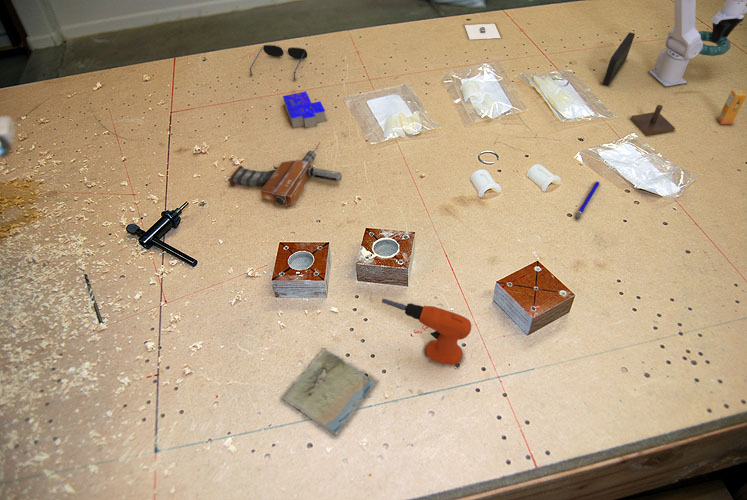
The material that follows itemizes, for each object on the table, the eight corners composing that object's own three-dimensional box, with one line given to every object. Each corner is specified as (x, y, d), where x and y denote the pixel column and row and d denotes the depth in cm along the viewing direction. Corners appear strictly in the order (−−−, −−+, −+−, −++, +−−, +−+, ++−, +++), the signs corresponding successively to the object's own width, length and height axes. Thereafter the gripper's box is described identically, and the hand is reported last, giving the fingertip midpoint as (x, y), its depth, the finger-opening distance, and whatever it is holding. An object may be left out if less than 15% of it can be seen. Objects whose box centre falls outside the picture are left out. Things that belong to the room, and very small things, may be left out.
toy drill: (380, 322, 114) (387, 282, 102) (463, 350, 111) (480, 313, 100) (372, 340, 111) (379, 301, 99) (458, 370, 108) (475, 333, 97)
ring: (676, 41, 177) (680, 32, 174) (710, 36, 178) (714, 27, 176) (700, 59, 168) (704, 51, 166) (736, 54, 170) (741, 45, 168)
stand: (630, 119, 163) (637, 100, 158) (656, 114, 164) (664, 95, 159) (646, 135, 157) (654, 116, 152) (673, 131, 158) (682, 112, 153)
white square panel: (494, 23, 208) (495, 19, 207) (500, 37, 200) (501, 34, 199) (464, 25, 208) (464, 21, 207) (469, 39, 200) (470, 35, 199)
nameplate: (607, 86, 176) (616, 59, 168) (601, 85, 176) (611, 57, 169) (626, 59, 187) (635, 32, 179) (620, 58, 188) (630, 31, 180)
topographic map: (282, 398, 104) (281, 395, 103) (324, 348, 111) (324, 345, 110) (335, 437, 99) (335, 434, 98) (376, 382, 106) (376, 378, 105)
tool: (221, 184, 144) (320, 203, 135) (267, 128, 160) (358, 142, 152) (226, 195, 146) (323, 215, 138) (270, 139, 163) (360, 154, 155)
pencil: (577, 219, 135) (578, 217, 134) (574, 218, 135) (575, 215, 134) (599, 183, 144) (600, 180, 143) (596, 181, 144) (597, 179, 143)
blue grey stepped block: (293, 130, 164) (291, 116, 160) (283, 105, 174) (281, 91, 170) (327, 123, 167) (326, 108, 163) (315, 99, 176) (313, 84, 172)
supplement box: (727, 118, 162) (743, 89, 154) (731, 124, 159) (748, 95, 152) (716, 118, 162) (732, 89, 155) (720, 124, 160) (736, 95, 152)
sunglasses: (308, 59, 194) (306, 47, 190) (296, 85, 186) (293, 73, 182) (265, 55, 197) (262, 43, 193) (251, 80, 189) (247, 68, 185)
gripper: (734, 7, 159) (713, 50, 169) (765, -4, 163) (743, 38, 173) (714, -1, 163) (695, 41, 173) (744, -11, 167) (724, 30, 178)
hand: (718, 39), depth 174 cm, fingers closed on ring, 3 cm apart
